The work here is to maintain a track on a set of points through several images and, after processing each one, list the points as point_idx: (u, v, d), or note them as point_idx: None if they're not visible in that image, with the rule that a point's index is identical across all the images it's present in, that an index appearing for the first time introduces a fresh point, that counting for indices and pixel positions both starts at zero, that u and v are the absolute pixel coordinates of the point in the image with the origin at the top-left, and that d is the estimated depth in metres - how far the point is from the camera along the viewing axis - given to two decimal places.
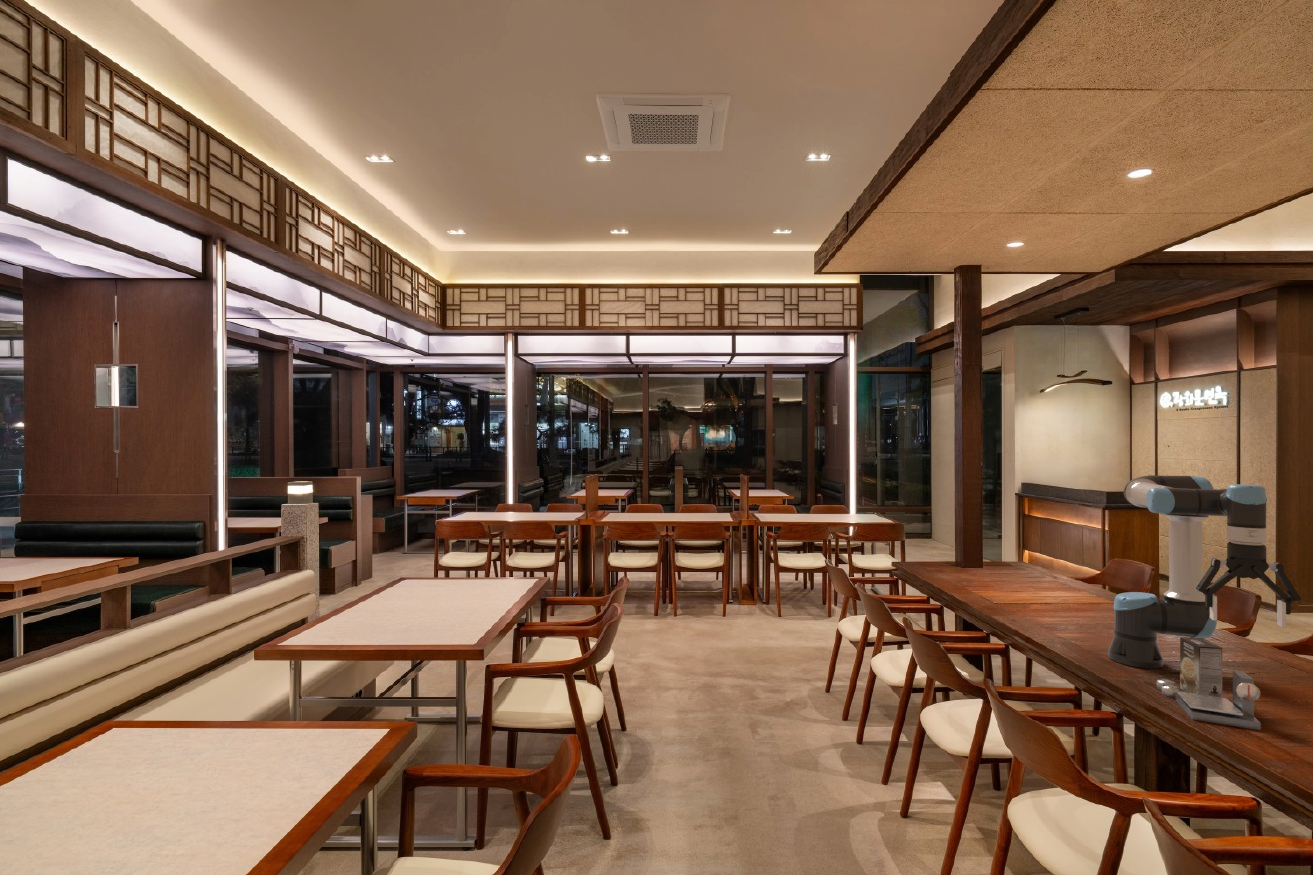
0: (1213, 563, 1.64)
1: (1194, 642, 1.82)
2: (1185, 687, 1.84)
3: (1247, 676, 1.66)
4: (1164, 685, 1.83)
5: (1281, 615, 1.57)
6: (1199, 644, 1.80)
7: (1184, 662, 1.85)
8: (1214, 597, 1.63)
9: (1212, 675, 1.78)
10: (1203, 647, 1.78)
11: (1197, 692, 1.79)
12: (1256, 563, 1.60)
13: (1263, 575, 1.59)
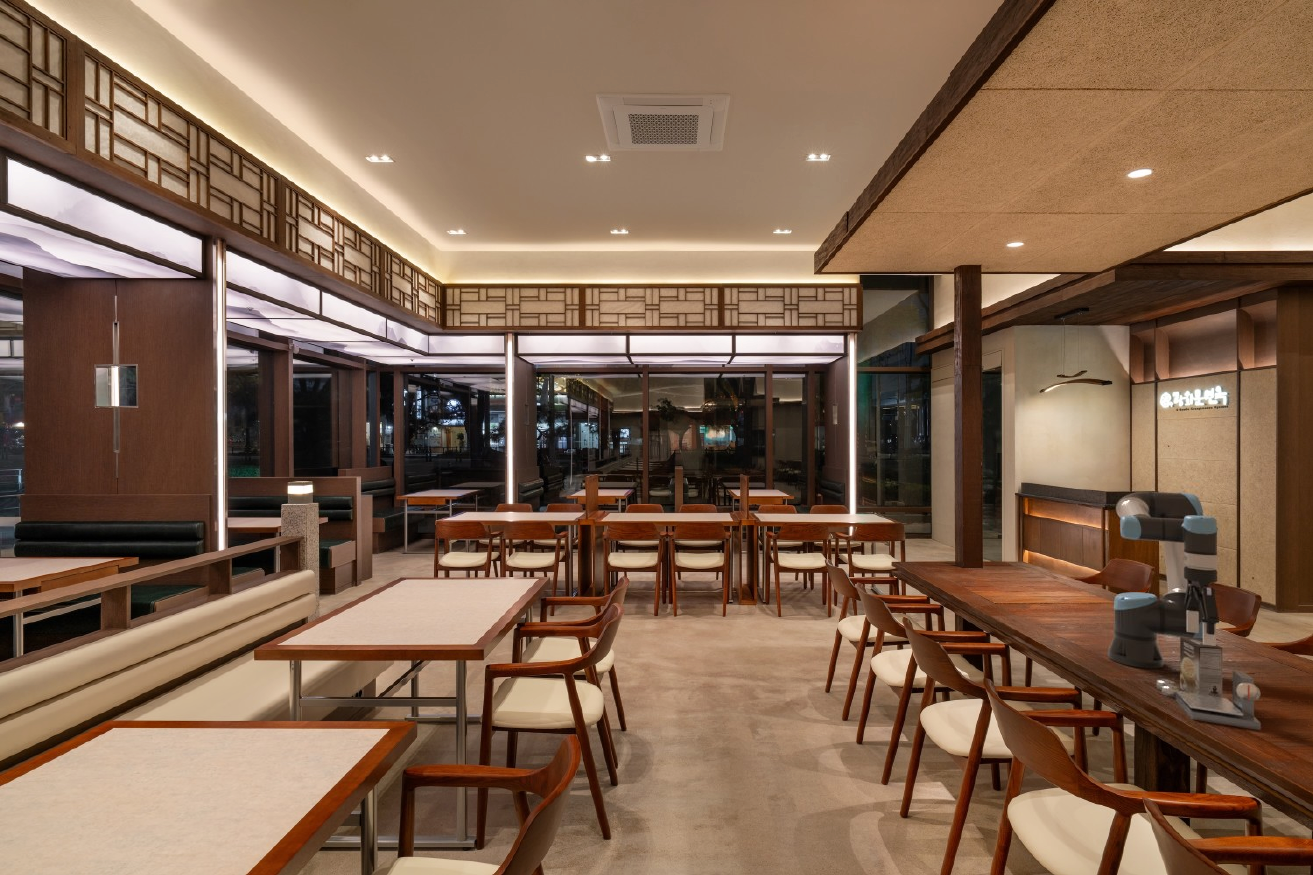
0: None
1: (1194, 642, 1.82)
2: (1185, 687, 1.84)
3: (1247, 676, 1.66)
4: (1164, 685, 1.83)
5: None
6: (1199, 644, 1.80)
7: (1184, 662, 1.85)
8: (1186, 611, 1.89)
9: (1212, 675, 1.78)
10: (1203, 647, 1.78)
11: (1197, 692, 1.79)
12: (1197, 585, 1.81)
13: (1196, 595, 1.81)
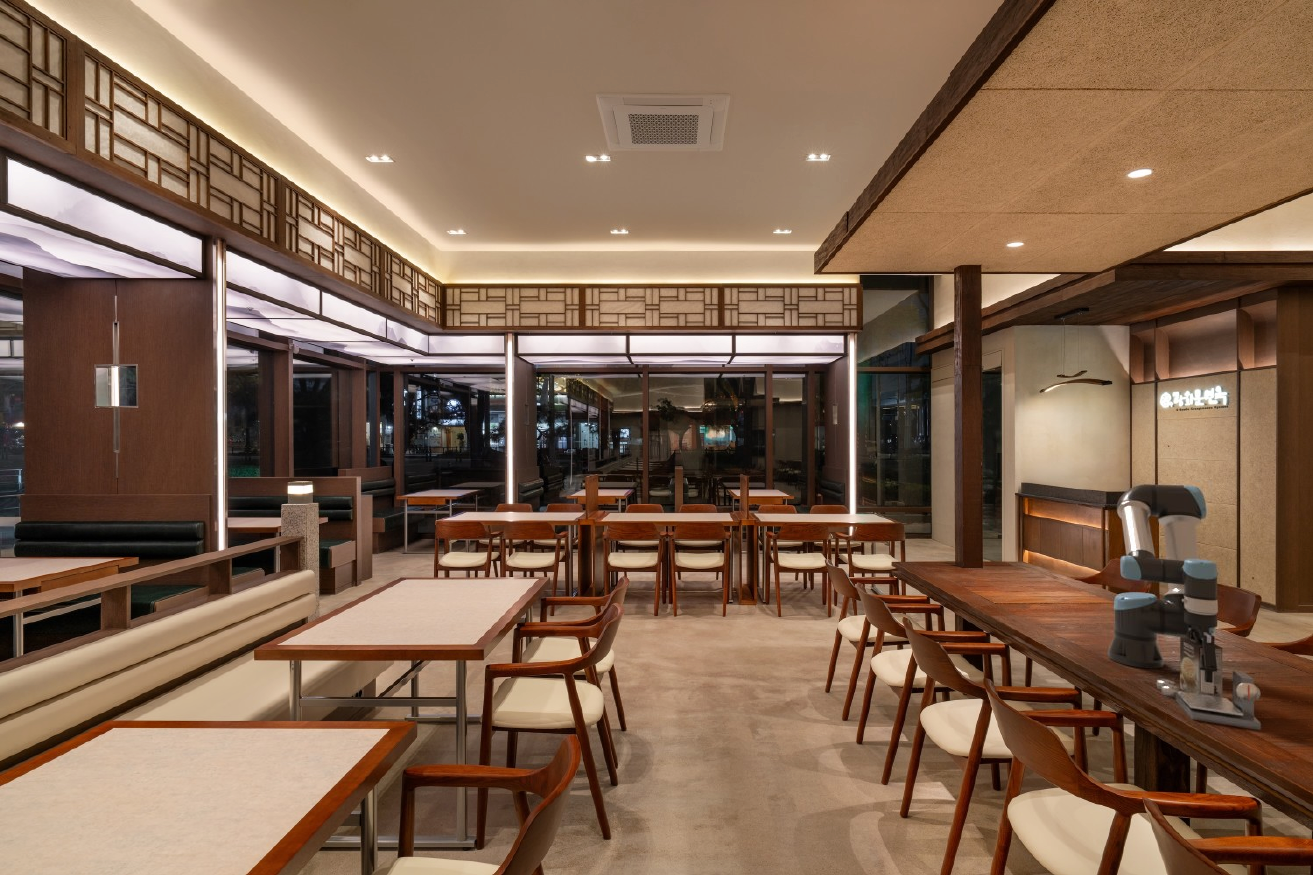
0: None
1: (1194, 642, 1.82)
2: (1185, 687, 1.84)
3: (1247, 676, 1.66)
4: (1164, 685, 1.83)
5: None
6: None
7: (1184, 662, 1.85)
8: None
9: None
10: None
11: (1197, 692, 1.79)
12: (1197, 629, 1.81)
13: (1196, 640, 1.81)
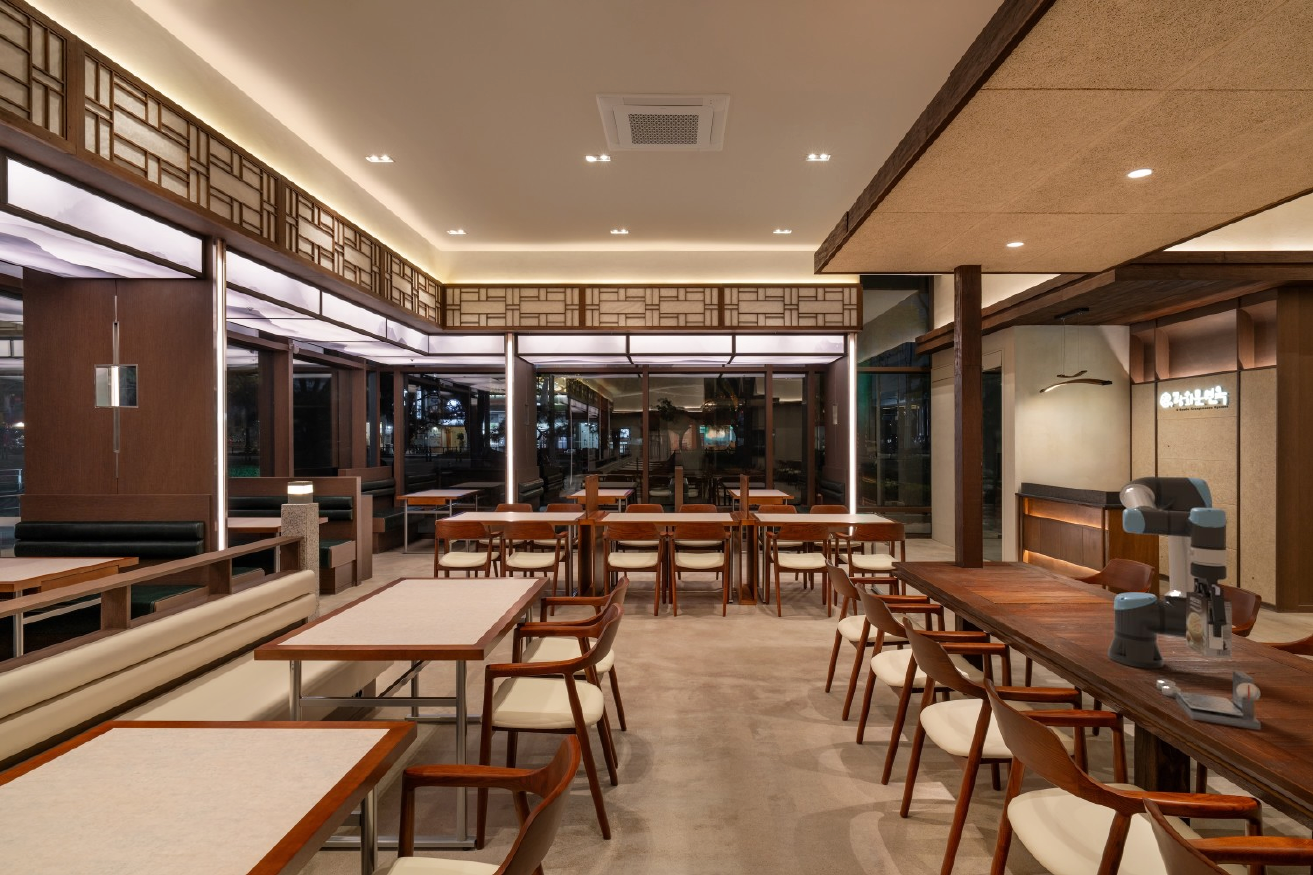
0: None
1: (1201, 596, 1.70)
2: (1192, 645, 1.72)
3: (1247, 676, 1.66)
4: (1164, 685, 1.83)
5: None
6: None
7: (1191, 618, 1.72)
8: None
9: None
10: None
11: (1205, 648, 1.67)
12: (1205, 581, 1.69)
13: (1203, 594, 1.69)
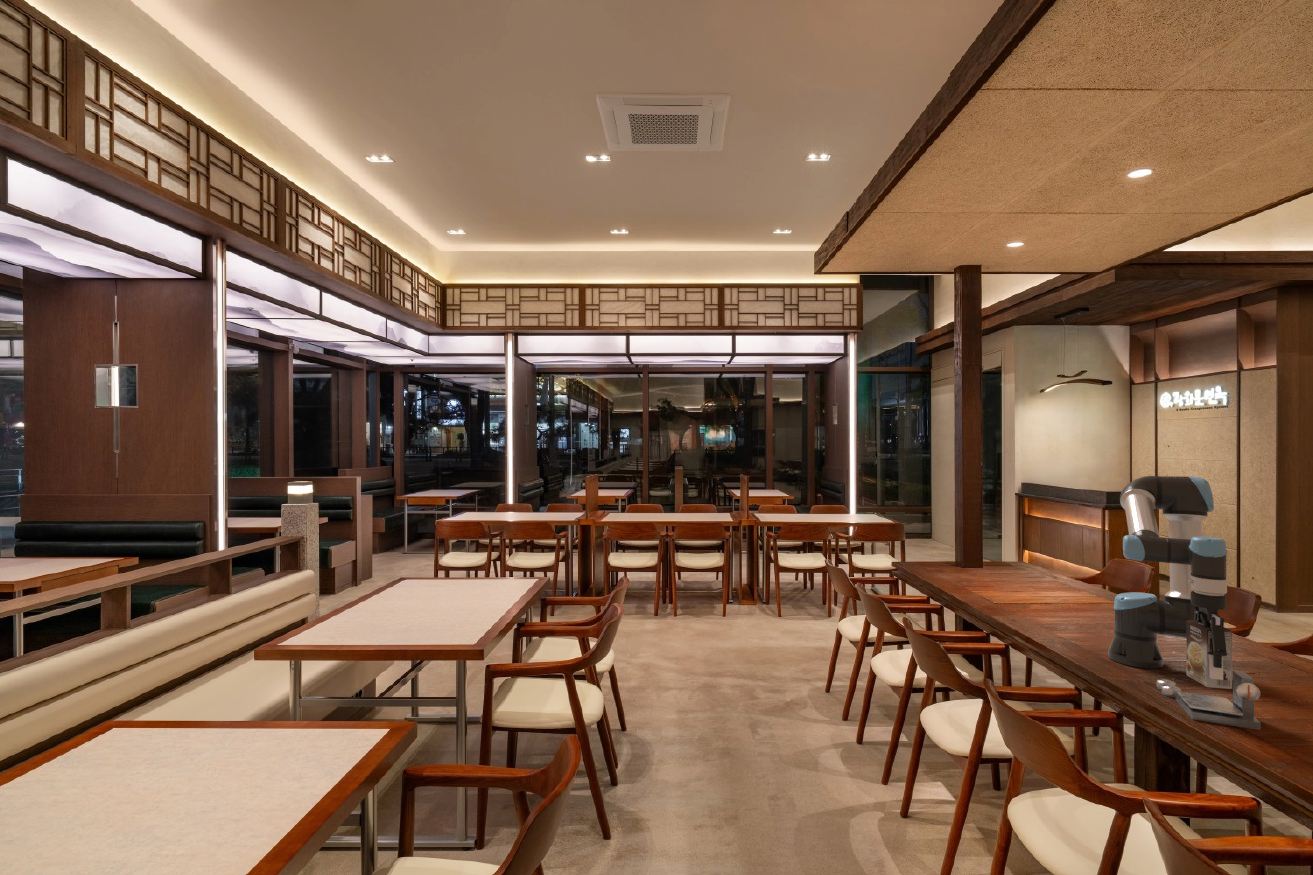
0: None
1: (1201, 625, 1.69)
2: (1192, 674, 1.72)
3: (1247, 676, 1.66)
4: (1164, 685, 1.83)
5: None
6: None
7: (1191, 647, 1.72)
8: None
9: None
10: None
11: (1205, 678, 1.67)
12: (1205, 611, 1.69)
13: (1204, 623, 1.69)
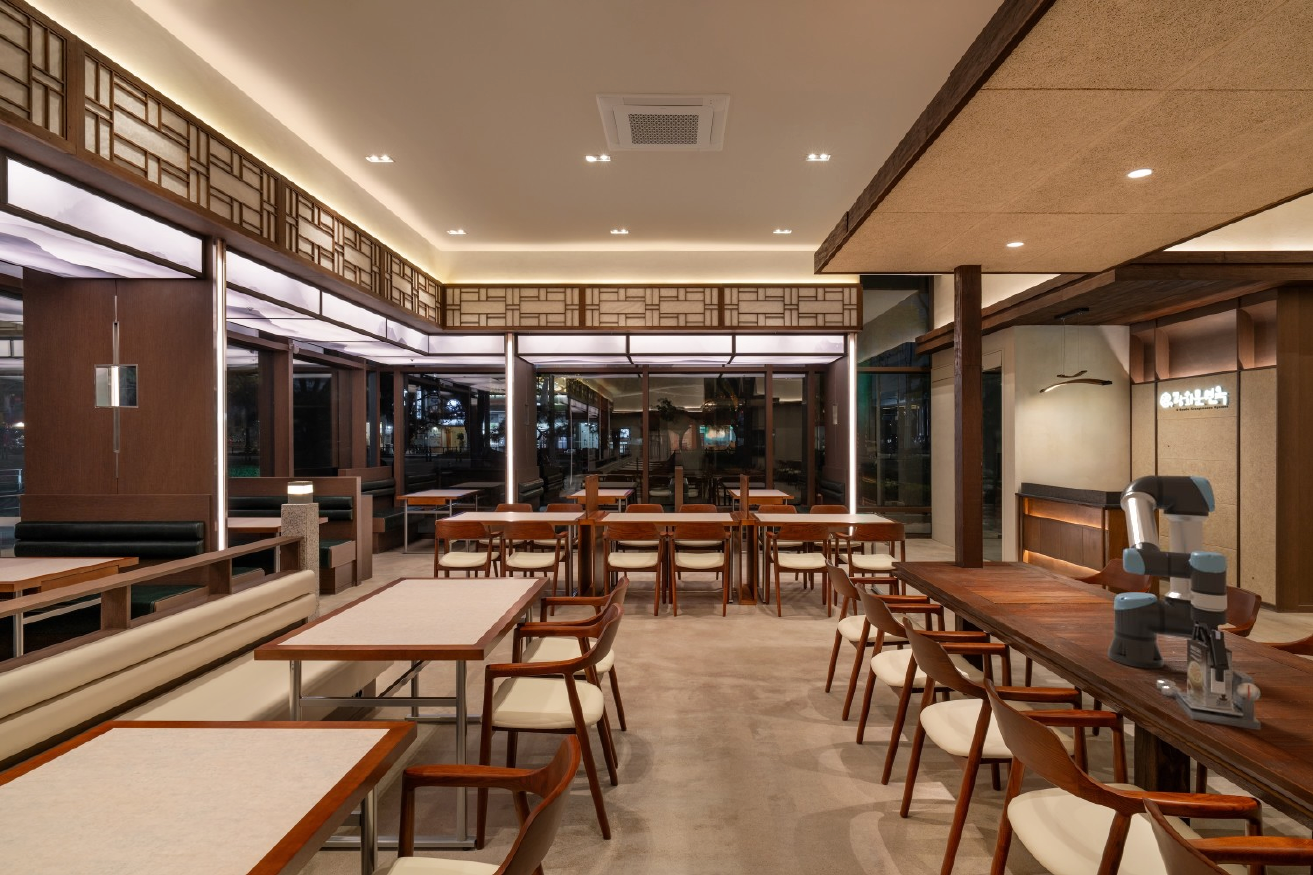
0: None
1: (1201, 645, 1.69)
2: (1193, 693, 1.72)
3: (1247, 676, 1.66)
4: (1164, 685, 1.83)
5: None
6: (1207, 647, 1.68)
7: (1191, 666, 1.72)
8: None
9: None
10: None
11: (1204, 698, 1.67)
12: (1205, 627, 1.69)
13: (1204, 638, 1.68)
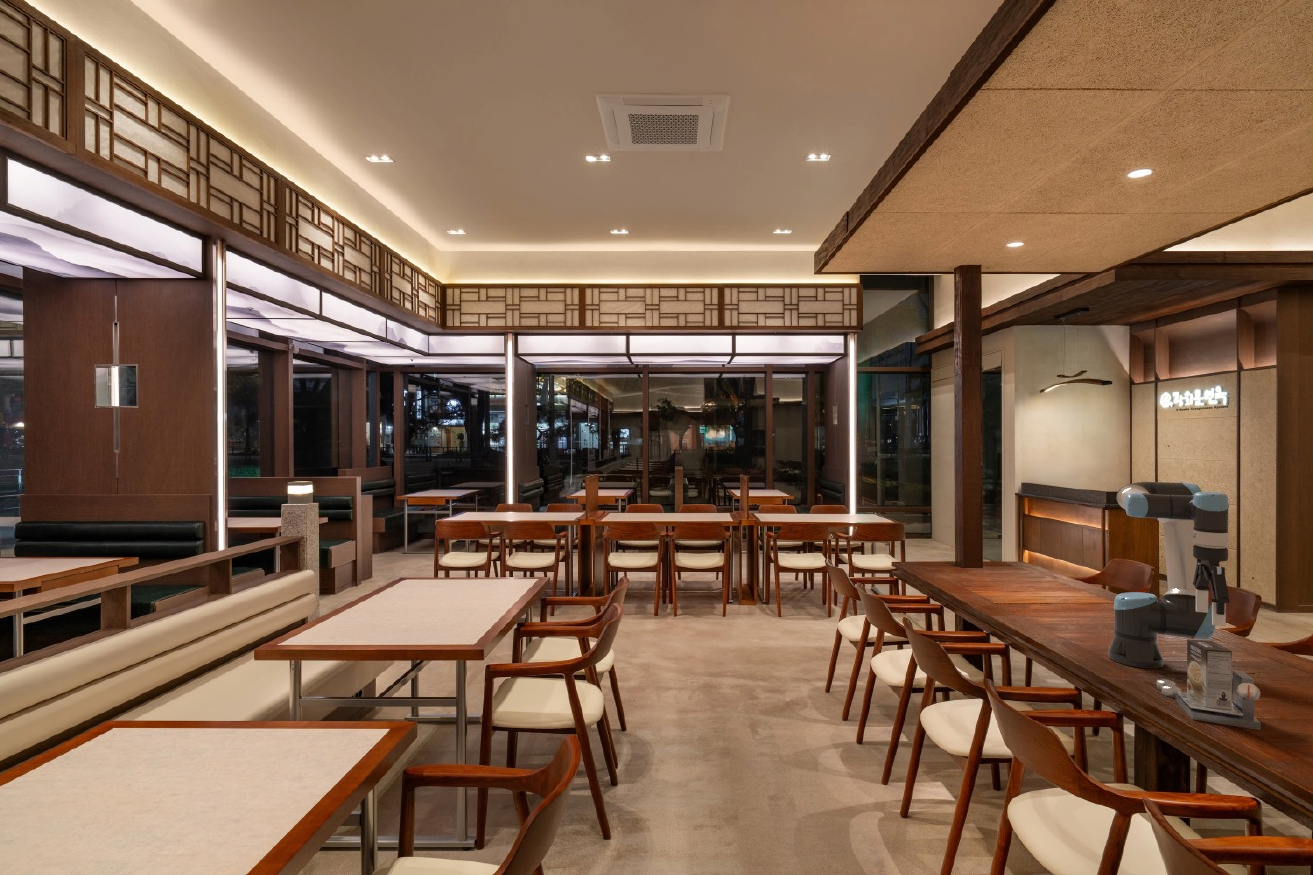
0: None
1: (1201, 645, 1.69)
2: (1193, 693, 1.72)
3: (1247, 676, 1.66)
4: (1164, 685, 1.83)
5: None
6: (1207, 647, 1.68)
7: (1191, 666, 1.72)
8: (1196, 590, 1.83)
9: (1221, 681, 1.65)
10: (1211, 650, 1.66)
11: (1204, 698, 1.67)
12: (1207, 564, 1.75)
13: (1206, 575, 1.74)
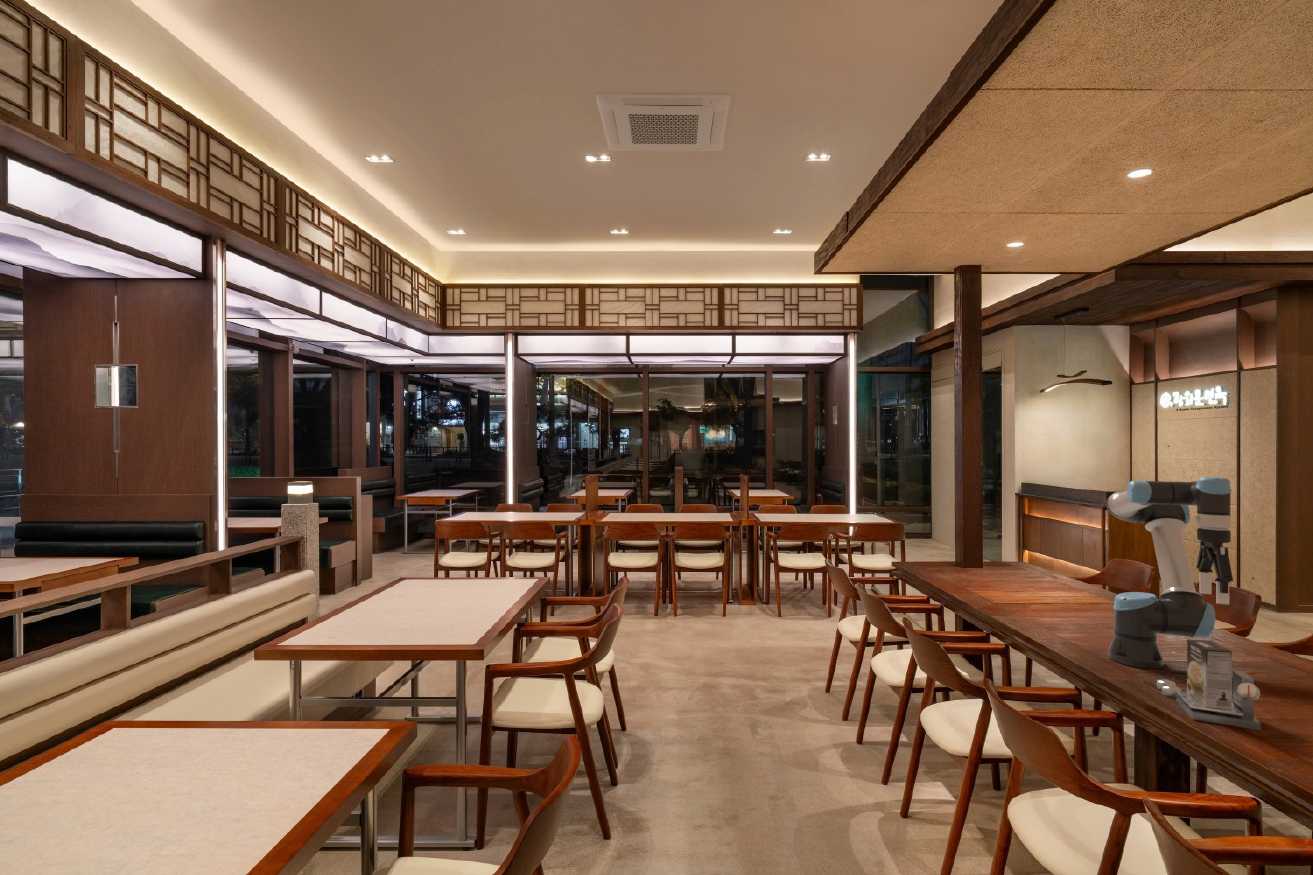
0: None
1: (1201, 645, 1.69)
2: (1193, 693, 1.72)
3: (1247, 676, 1.66)
4: (1164, 685, 1.83)
5: None
6: (1207, 647, 1.68)
7: (1191, 667, 1.72)
8: (1199, 573, 1.90)
9: (1221, 681, 1.65)
10: (1211, 650, 1.66)
11: (1204, 698, 1.67)
12: (1211, 545, 1.83)
13: (1210, 556, 1.82)
